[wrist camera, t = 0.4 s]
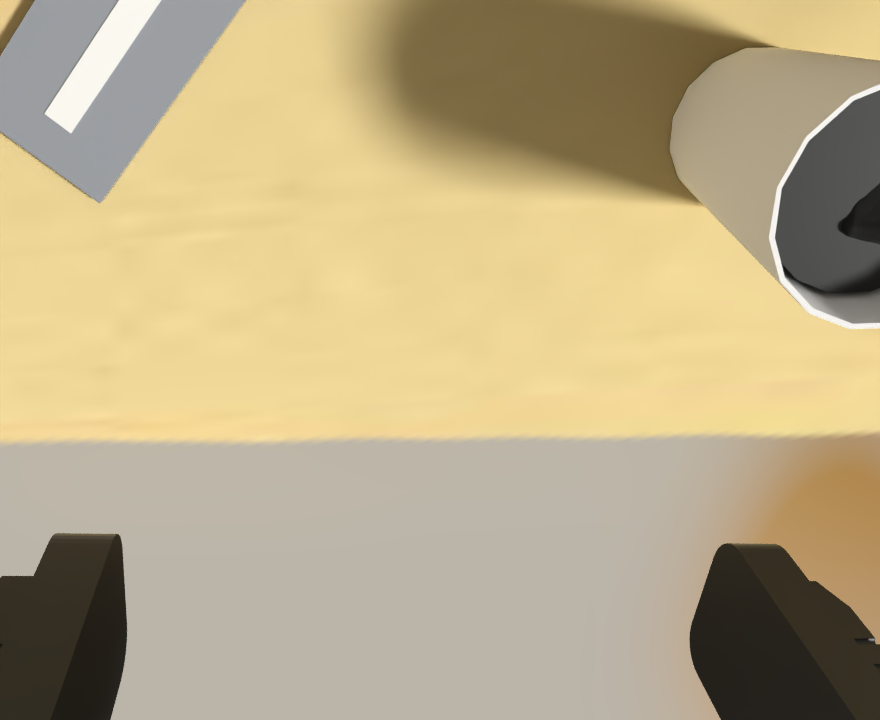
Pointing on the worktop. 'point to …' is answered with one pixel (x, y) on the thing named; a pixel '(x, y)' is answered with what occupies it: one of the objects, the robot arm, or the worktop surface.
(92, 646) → the robot arm
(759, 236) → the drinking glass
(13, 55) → the beige flat board
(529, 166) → the worktop surface
